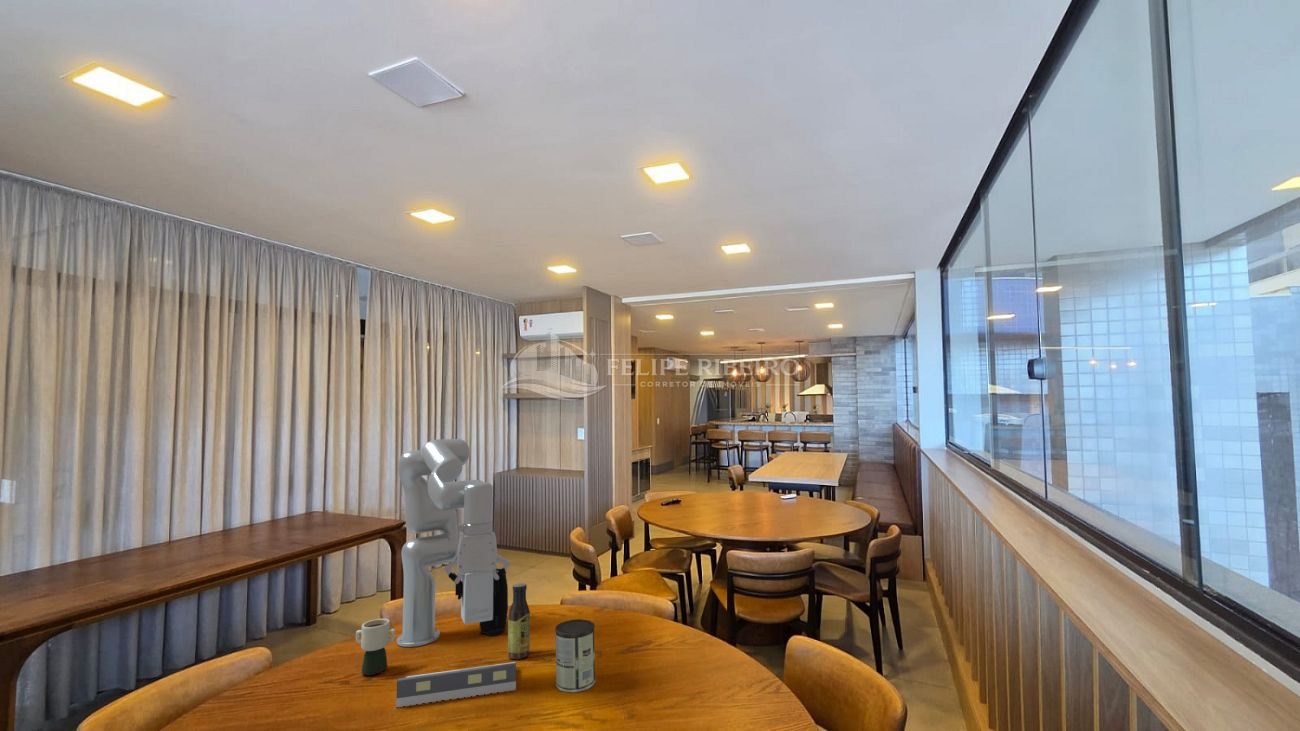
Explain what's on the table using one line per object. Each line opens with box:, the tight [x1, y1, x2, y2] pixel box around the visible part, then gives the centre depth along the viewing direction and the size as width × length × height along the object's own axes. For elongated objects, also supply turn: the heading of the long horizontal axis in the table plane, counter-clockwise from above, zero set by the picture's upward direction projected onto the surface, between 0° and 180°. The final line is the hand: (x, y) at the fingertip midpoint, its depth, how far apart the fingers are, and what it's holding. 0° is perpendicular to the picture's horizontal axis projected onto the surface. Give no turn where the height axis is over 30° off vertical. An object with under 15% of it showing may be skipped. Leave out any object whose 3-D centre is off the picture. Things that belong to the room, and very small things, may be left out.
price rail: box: [395, 662, 517, 699], centre depth 131 cm, size 1×28×4 cm, turn 105°
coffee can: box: [554, 618, 596, 693], centre depth 137 cm, size 10×10×14 cm
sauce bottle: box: [507, 582, 531, 660], centre depth 155 cm, size 7×6×20 cm
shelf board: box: [395, 661, 517, 709], centre depth 135 cm, size 12×28×2 cm, turn 105°
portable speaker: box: [479, 567, 509, 637], centre depth 174 cm, size 9×9×20 cm
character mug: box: [355, 618, 396, 676], centre depth 146 cm, size 11×7×13 cm, turn 91°
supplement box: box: [460, 571, 493, 625], centre depth 140 cm, size 7×7×13 cm
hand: (477, 595), depth 140 cm, fingers closed on supplement box, 8 cm apart
